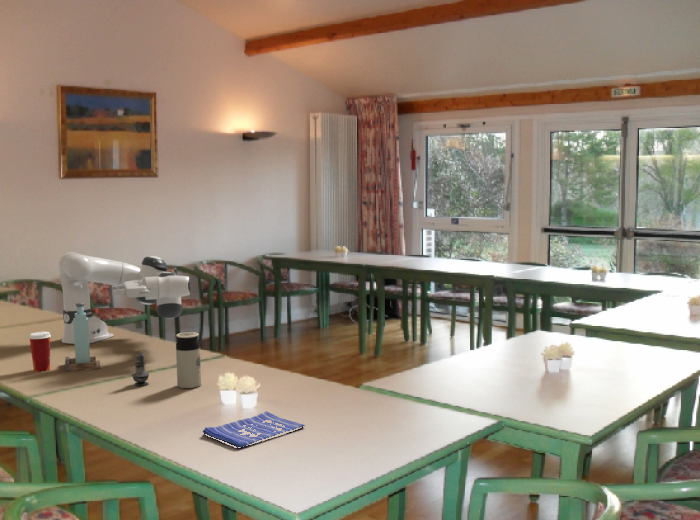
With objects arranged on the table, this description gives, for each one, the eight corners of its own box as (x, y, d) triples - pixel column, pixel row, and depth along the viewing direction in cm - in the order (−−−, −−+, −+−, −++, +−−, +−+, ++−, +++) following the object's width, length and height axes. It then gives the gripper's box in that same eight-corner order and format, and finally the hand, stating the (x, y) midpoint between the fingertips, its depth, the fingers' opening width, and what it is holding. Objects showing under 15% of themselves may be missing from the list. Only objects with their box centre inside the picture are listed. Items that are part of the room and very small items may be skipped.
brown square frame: (99, 361, 294) (99, 353, 293) (100, 368, 282) (100, 360, 282) (65, 364, 289) (65, 356, 289) (65, 372, 278) (65, 364, 277)
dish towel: (200, 437, 207) (199, 427, 207) (267, 417, 224) (266, 408, 223) (237, 452, 195) (237, 442, 195) (305, 430, 212) (305, 420, 211)
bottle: (90, 363, 289) (86, 301, 286) (90, 366, 284) (87, 303, 281) (75, 364, 287) (72, 302, 284) (75, 367, 282) (72, 304, 280)
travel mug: (172, 387, 255) (170, 335, 253) (186, 381, 262) (184, 331, 260) (192, 390, 252) (190, 337, 250) (205, 383, 259) (204, 332, 257)
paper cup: (57, 368, 283) (55, 332, 281) (41, 373, 276) (39, 336, 274) (42, 366, 286) (40, 330, 285) (25, 371, 279) (23, 334, 278)
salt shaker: (134, 387, 255) (132, 353, 254) (130, 383, 261) (129, 349, 259) (151, 385, 258) (150, 351, 257) (147, 381, 263) (146, 347, 262)
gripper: (152, 300, 282) (114, 302, 277) (147, 292, 301) (111, 294, 296) (151, 283, 281) (113, 286, 276) (146, 276, 300) (110, 279, 295)
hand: (112, 290), depth 286 cm, fingers open, 8 cm apart
